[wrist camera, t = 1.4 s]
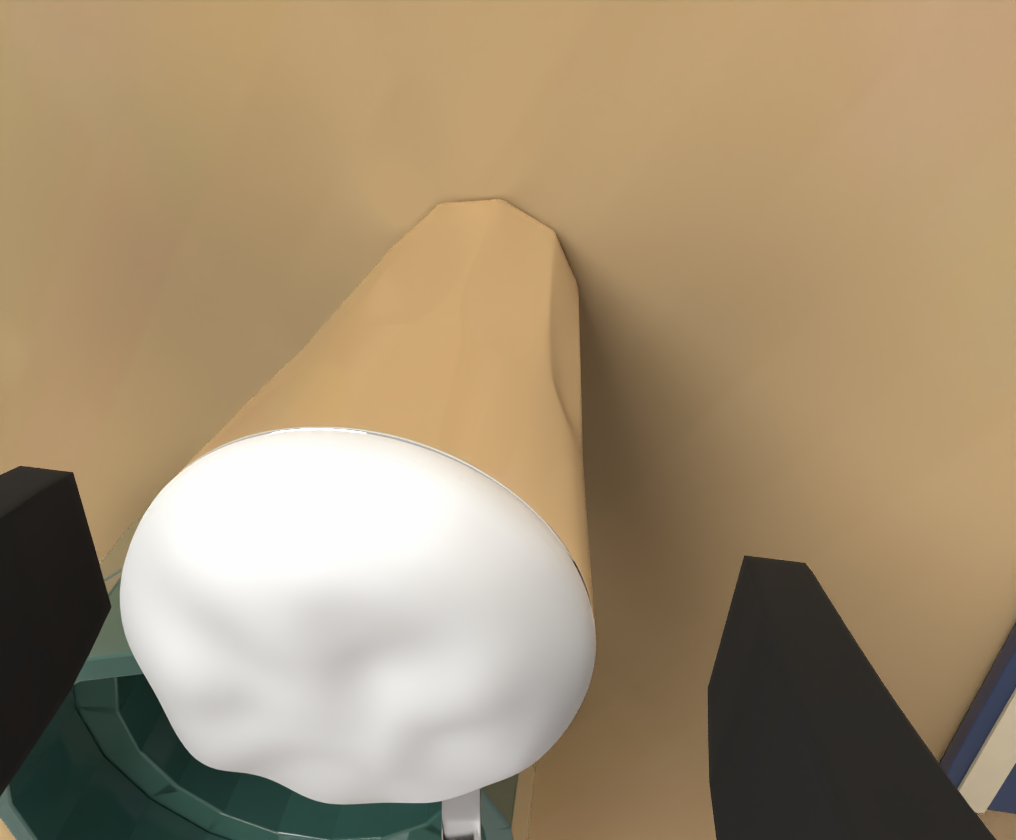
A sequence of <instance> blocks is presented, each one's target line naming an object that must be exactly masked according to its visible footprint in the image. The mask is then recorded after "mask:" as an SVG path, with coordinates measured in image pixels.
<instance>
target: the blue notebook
mask: <svg viewBox="0 0 1016 840" xmlns="http://www.w3.org/2000/svg"><path fill="white" fill-rule="evenodd" d="M940 766H941V767H942V769H943V770H944V771H945V773H946V774H947V776H948V777H949V778H950V780H951V781H952V782H953V784H954V785H955V786H956V788H957V789H958V790H959V792H960V793H961V794H962V796H963V797H964V799H965V800H966V801H967V803H968V804H969V805H970V807H971V808H972V809H973V811H974V812H977V813H985V811H986V810H994V811H1001V812H1008V813H1015V814H1016V624H1015V626H1014V628H1013V629H1012V631H1011V633H1010V635H1009V637H1008V639H1007V641H1006V642H1005V644H1004V646H1003V648H1002V650H1001V652H1000V653H999V655H998V657H997V659H996V661H995V663H994V664H993V666H992V668H991V670H990V672H989V674H988V676H987V677H986V679H985V681H984V683H983V685H982V687H981V688H980V690H979V692H978V694H977V696H976V698H975V700H974V701H973V703H972V705H971V707H970V709H969V711H968V712H967V714H966V716H965V718H964V720H963V722H962V723H961V725H960V727H959V729H958V731H957V733H956V735H955V736H954V738H953V740H952V742H951V744H950V746H949V747H948V749H947V751H946V753H945V755H944V757H943V758H942V760H941V762H940Z"/></svg>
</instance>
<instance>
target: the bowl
mask: <svg viewBox="0 0 1016 840" xmlns="http://www.w3.org/2000/svg"><path fill="white" fill-rule="evenodd" d="M141 519H142V518H140V519H139V520H137V521H136V522H134V523H132V525H131V526H130V527H129V528H128V529H127V530H126V531H125V533H124V534H123V535H122V537H121V538H120V539H119V541H118V542H117V543H116V545H115V546H114V547H113V549H112V550H111V551H110V553H109V554H108V555H107V556H106V558H105V559H104V560H103V562H102V563H101V564H100V568H101V572H102V575H103V579H104V582H105V586H106V589H107V592H108V596H109V599H110V603H111V606H112V607H111V609H110V611H109V614H108V616H107V618H106V620H105V622H104V624H103V626H102V628H101V631H100V633H99V635H98V637H97V639H96V641H95V643H94V645H93V648H92V650H91V652H90V654H89V656H88V658H87V660H86V662H85V663H84V665H83V667H82V669H81V671H80V673H79V675H78V677H77V679H76V681H75V683H74V685H73V687H72V689H71V691H70V692H69V694H68V695H67V697H66V698H65V700H64V701H63V703H62V705H61V706H60V708H59V709H58V711H57V712H56V714H55V715H54V717H53V718H52V720H51V721H50V723H49V725H48V726H47V728H46V729H45V731H44V732H43V734H42V735H41V737H40V738H39V740H38V741H37V743H36V744H35V746H34V747H33V749H32V750H31V752H30V753H29V755H28V756H27V758H26V759H25V761H24V762H23V764H22V765H21V767H20V768H19V770H18V771H17V773H16V774H15V776H14V777H13V779H12V780H11V782H10V783H9V785H8V786H7V788H6V789H5V791H4V792H3V794H2V795H1V797H0V818H1V820H2V821H3V822H4V824H5V825H6V827H7V828H8V829H9V831H10V832H11V833H12V835H13V836H14V837H15V839H16V840H442V829H441V801H439V802H432V803H367V804H346V805H344V804H329V803H323V802H319V801H315V800H312V799H309V798H307V797H305V796H302V795H300V794H298V793H296V792H294V791H292V790H291V789H289V788H287V787H285V786H283V785H281V784H279V783H277V782H275V781H273V780H270V779H267V778H264V777H261V776H257V775H253V774H248V773H240V772H230V771H223V770H218V769H214V768H211V767H209V766H206V765H204V764H203V763H201V762H200V761H198V760H197V759H195V758H194V757H193V756H192V755H191V754H190V753H189V752H188V750H187V749H186V748H185V747H184V745H183V744H182V742H181V741H180V739H179V738H178V736H177V735H176V733H175V731H174V729H173V727H172V725H171V724H170V722H169V720H168V718H167V716H166V714H165V712H164V710H163V708H162V706H161V704H160V702H159V700H158V698H157V696H156V694H155V693H154V691H153V689H152V687H151V686H150V684H149V682H148V680H147V679H146V677H145V675H144V674H143V672H142V670H141V668H140V667H139V665H138V663H137V661H136V659H135V657H134V655H133V653H132V651H131V649H130V646H129V644H128V641H127V639H126V636H125V633H124V629H123V624H122V618H121V611H120V584H121V576H122V570H123V566H124V562H125V559H126V556H127V552H128V549H129V546H130V543H131V541H132V538H133V536H134V534H135V531H136V529H137V527H138V525H139V523H140V521H141ZM535 769H536V762H535V763H534V764H532V765H531V766H529V767H528V768H526V769H525V770H523V771H521V772H520V773H518V774H515V775H513V776H511V777H509V778H507V779H504V780H501V781H499V782H496V783H493V784H490V785H487V786H485V787H482V788H481V815H482V840H528V831H529V822H530V814H531V805H532V796H533V788H534V779H535Z"/></svg>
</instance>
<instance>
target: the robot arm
mask: <svg viewBox="0 0 1016 840" xmlns="http://www.w3.org/2000/svg"><path fill="white" fill-rule="evenodd" d="M111 607H112V606H111V603H110V599H109V596H108V592H107V589H106V586H105V582H104V579H103V575H102V572H101V568H100V565H99V561H98V558H97V554H96V551H95V547H94V544H93V540H92V537H91V533H90V530H89V526H88V523H87V519H86V516H85V512H84V509H83V505H82V502H81V498H80V495H79V491H78V488H77V484H76V481H75V478H74V474H73V472H65V471H57V470H49V469H41V468H33V467H25V466H19V467H17V468H15V469H12V470H10V471H8V472H6V473H4V474H2V475H0V797H1V795H2V794H3V792H4V791H5V789H6V788H7V786H8V785H9V783H10V782H11V780H12V779H13V777H14V776H15V774H16V773H17V771H18V770H19V768H20V767H21V765H22V764H23V762H24V761H25V759H26V758H27V756H28V755H29V753H30V752H31V750H32V749H33V747H34V746H35V744H36V743H37V741H38V740H39V738H40V737H41V735H42V734H43V732H44V731H45V729H46V728H47V726H48V725H49V723H50V721H51V720H52V718H53V717H54V715H55V714H56V712H57V711H58V709H59V708H60V706H61V705H62V703H63V701H64V700H65V698H66V697H67V695H68V694H69V692H70V691H71V689H72V687H73V685H74V683H75V681H76V679H77V677H78V675H79V673H80V671H81V669H82V667H83V665H84V663H85V662H86V660H87V658H88V656H89V654H90V652H91V650H92V648H93V645H94V643H95V641H96V639H97V637H98V635H99V633H100V631H101V628H102V626H103V624H104V622H105V620H106V618H107V616H108V614H109V611H110V609H111ZM708 743H709V782H710V790H711V799H712V807H713V815H714V823H715V831H716V838H717V840H996V839H995V838H994V836H993V835H992V834H991V833H990V831H989V830H988V829H987V827H986V826H985V825H984V823H983V822H982V821H981V820H980V818H979V817H978V816H977V814H976V813H975V812H974V811H973V809H972V808H971V807H970V805H969V804H968V803H967V801H966V800H965V799H964V797H963V796H962V794H961V793H960V792H959V790H958V789H957V788H956V786H955V785H954V784H953V782H952V781H951V780H950V778H949V777H948V776H947V774H946V773H945V771H944V770H943V769H942V767H941V766H940V764H939V763H938V762H937V760H936V759H935V757H934V756H933V755H932V753H931V752H930V750H929V749H928V747H927V746H926V745H925V743H924V742H923V740H922V739H921V737H920V736H919V735H918V733H917V732H916V730H915V729H914V727H913V726H912V725H911V723H910V722H909V720H908V719H907V718H906V716H905V715H904V713H903V712H902V710H901V709H900V708H899V706H898V705H897V703H896V702H895V700H894V699H893V697H892V696H891V694H890V693H889V691H888V690H887V688H886V687H885V685H884V684H883V682H882V681H881V679H880V678H879V676H878V675H877V673H876V672H875V670H874V669H873V667H872V666H871V664H870V663H869V661H868V659H867V658H866V656H865V655H864V653H863V652H862V650H861V649H860V647H859V646H858V644H857V643H856V641H855V639H854V638H853V636H852V635H851V633H850V632H849V630H848V628H847V627H846V625H845V624H844V622H843V620H842V619H841V617H840V616H839V614H838V612H837V611H836V609H835V608H834V606H833V604H832V603H831V601H830V600H829V598H828V596H827V595H826V593H825V592H824V590H823V588H822V587H821V585H820V583H819V582H818V580H817V579H816V577H815V575H814V574H813V572H812V571H811V570H810V569H809V567H808V566H807V565H806V563H800V562H792V561H784V560H776V559H768V558H760V557H752V556H744V559H743V562H742V566H741V570H740V573H739V577H738V581H737V584H736V588H735V591H734V595H733V599H732V602H731V606H730V610H729V613H728V617H727V620H726V624H725V628H724V631H723V635H722V638H721V642H720V646H719V649H718V653H717V657H716V660H715V664H714V667H713V671H712V675H711V678H710V682H709V686H708Z"/></svg>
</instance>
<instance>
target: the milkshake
mask: <svg viewBox="0 0 1016 840" xmlns="http://www.w3.org/2000/svg"><path fill="white" fill-rule="evenodd" d="M120 611H121V618H122V624H123V629H124V633H125V636H126V639H127V641H128V644H129V646H130V649H131V651H132V653H133V655H134V657H135V659H136V661H137V663H138V665H139V667H140V668H141V670H142V672H143V674H144V675H145V677H146V679H147V680H148V682H149V684H150V686H151V687H152V689H153V691H154V693H155V694H156V696H157V698H158V700H159V702H160V704H161V706H162V708H163V710H164V712H165V714H166V716H167V718H168V720H169V722H170V724H171V725H172V727H173V729H174V731H175V733H176V735H177V736H178V738H179V739H180V741H181V742H182V744H183V745H184V747H185V748H186V749H187V750H188V752H189V753H190V754H191V755H192V756H193V757H194V758H195V759H197V760H198V761H200V762H201V763H203V764H204V765H206V766H209V767H211V768H214V769H218V770H223V771H230V772H240V773H248V774H253V775H257V776H261V777H264V778H267V779H270V780H273V781H275V782H277V783H279V784H281V785H283V786H285V787H287V788H289V789H291V790H292V791H294V792H296V793H298V794H300V795H302V796H305V797H307V798H309V799H312V800H315V801H319V802H323V803H329V804H344V805H346V804H367V803H432V802H439V801H441V829H442V840H482V815H481V788H482V787H485V786H487V785H490V784H493V783H496V782H499V781H501V780H504V779H507V778H509V777H511V776H513V775H515V774H518V773H520V772H521V771H523V770H525V769H526V768H528V767H529V766H531V765H532V764H534V763H535V762H536V761H538V760H539V759H540V758H541V757H542V756H543V755H544V754H545V753H547V752H548V751H549V750H550V749H551V748H552V746H553V745H554V744H555V743H556V742H557V741H558V740H559V739H560V737H561V736H562V735H563V733H564V732H565V731H566V729H567V728H568V726H569V725H570V724H571V722H572V720H573V719H574V717H575V715H576V714H577V712H578V710H579V708H580V706H581V704H582V702H583V700H584V698H585V696H586V693H587V691H588V688H589V685H590V681H591V678H592V674H593V669H594V663H595V656H596V630H595V623H594V607H593V594H592V580H591V567H590V554H589V541H588V528H587V514H586V501H585V487H584V472H583V451H582V403H581V366H580V331H579V297H578V284H577V282H576V279H575V277H574V275H573V273H572V270H571V268H570V266H569V264H568V261H567V259H566V257H565V254H564V252H563V250H562V248H561V245H560V243H559V241H558V238H557V236H556V234H555V231H554V230H552V229H551V228H549V227H547V226H546V225H544V224H542V223H541V222H539V221H537V220H535V219H534V218H532V217H530V216H529V215H527V214H525V213H524V212H522V211H520V210H519V209H517V208H515V207H514V206H512V205H510V204H509V203H507V202H505V201H504V200H502V199H491V200H478V201H464V202H449V203H440V204H438V205H437V206H436V207H435V208H434V209H433V210H432V211H431V212H430V213H428V214H427V215H426V216H425V217H424V218H423V219H422V220H421V221H420V222H419V223H417V224H416V225H415V226H414V227H413V228H412V229H411V230H410V231H409V232H407V233H406V234H405V235H404V236H403V237H402V238H401V239H399V240H398V241H397V242H396V243H395V244H394V245H393V246H392V248H391V249H390V250H389V251H388V252H387V253H386V254H385V255H384V257H383V258H382V259H381V260H380V261H379V262H378V263H377V265H376V266H375V267H374V268H373V269H372V270H371V271H370V273H369V274H368V275H367V276H366V277H365V278H364V279H363V280H362V282H361V283H360V284H359V285H358V286H357V287H356V288H355V290H354V291H353V292H352V293H351V294H350V295H349V296H348V298H347V299H346V300H345V301H344V302H343V303H342V304H341V306H340V307H339V308H338V309H337V310H336V311H335V312H334V313H333V315H332V316H331V317H330V318H329V319H328V320H327V321H326V323H325V324H324V325H323V326H322V327H321V328H320V329H319V331H318V332H317V333H316V334H315V335H314V336H313V337H312V338H311V340H310V341H309V342H308V343H307V344H306V345H305V346H304V347H303V349H302V350H301V351H300V352H299V353H298V354H297V355H296V356H295V357H294V358H292V359H291V360H290V361H289V362H288V363H287V364H286V365H284V366H283V367H282V368H281V369H280V370H279V371H278V372H277V373H276V374H275V375H274V376H273V377H272V378H271V379H270V380H269V381H268V382H267V383H266V384H265V385H264V386H263V387H262V388H261V389H260V390H259V391H258V392H257V393H256V394H255V395H254V396H253V397H252V398H251V399H250V400H249V401H248V402H247V403H246V404H245V405H244V406H243V407H242V408H241V409H240V410H239V411H238V412H237V413H236V414H235V415H234V416H233V417H232V418H231V419H230V421H229V422H228V423H227V424H226V425H225V426H224V427H223V428H222V429H221V430H220V431H219V432H218V433H217V434H216V435H215V436H214V437H213V438H212V439H211V440H210V441H209V442H208V443H207V444H206V445H205V446H204V447H203V448H202V449H201V450H200V451H199V452H198V453H197V454H196V455H195V456H194V457H193V458H192V459H191V460H190V461H189V462H188V463H187V464H186V465H185V466H184V467H183V468H182V469H181V470H180V472H179V473H178V474H177V475H176V476H175V477H174V478H173V479H172V480H171V481H170V482H169V483H168V484H167V485H166V486H165V487H164V488H163V489H162V490H161V492H160V493H159V494H158V495H157V497H156V498H155V499H154V500H153V502H152V503H151V505H150V506H149V508H148V509H147V511H146V512H145V514H144V516H143V517H142V519H141V521H140V523H139V525H138V527H137V529H136V531H135V534H134V536H133V538H132V541H131V543H130V546H129V549H128V552H127V556H126V559H125V562H124V566H123V570H122V576H121V584H120Z"/></svg>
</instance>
